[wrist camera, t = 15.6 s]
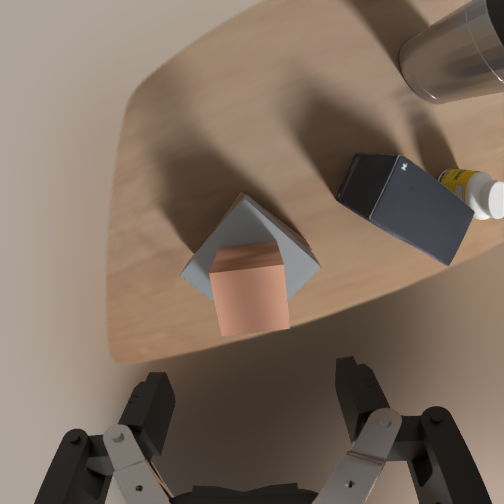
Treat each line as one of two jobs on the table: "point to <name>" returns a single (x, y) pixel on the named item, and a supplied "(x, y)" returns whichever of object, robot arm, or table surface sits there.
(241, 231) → the tower top
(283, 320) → the terracotta block
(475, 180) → the supplement bottle
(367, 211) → the small box
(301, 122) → the table surface
